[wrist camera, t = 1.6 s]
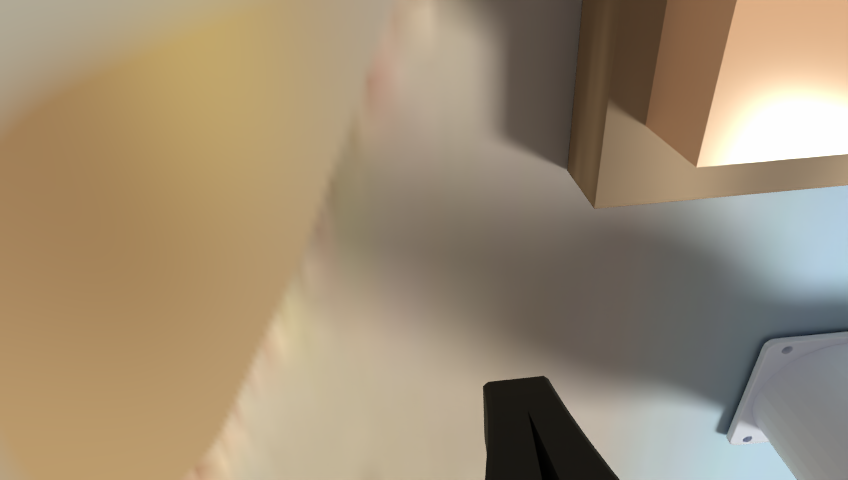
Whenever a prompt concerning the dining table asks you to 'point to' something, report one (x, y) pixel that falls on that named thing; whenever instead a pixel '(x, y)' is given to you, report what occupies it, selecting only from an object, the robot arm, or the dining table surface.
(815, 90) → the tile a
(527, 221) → the dining table surface
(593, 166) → the board
